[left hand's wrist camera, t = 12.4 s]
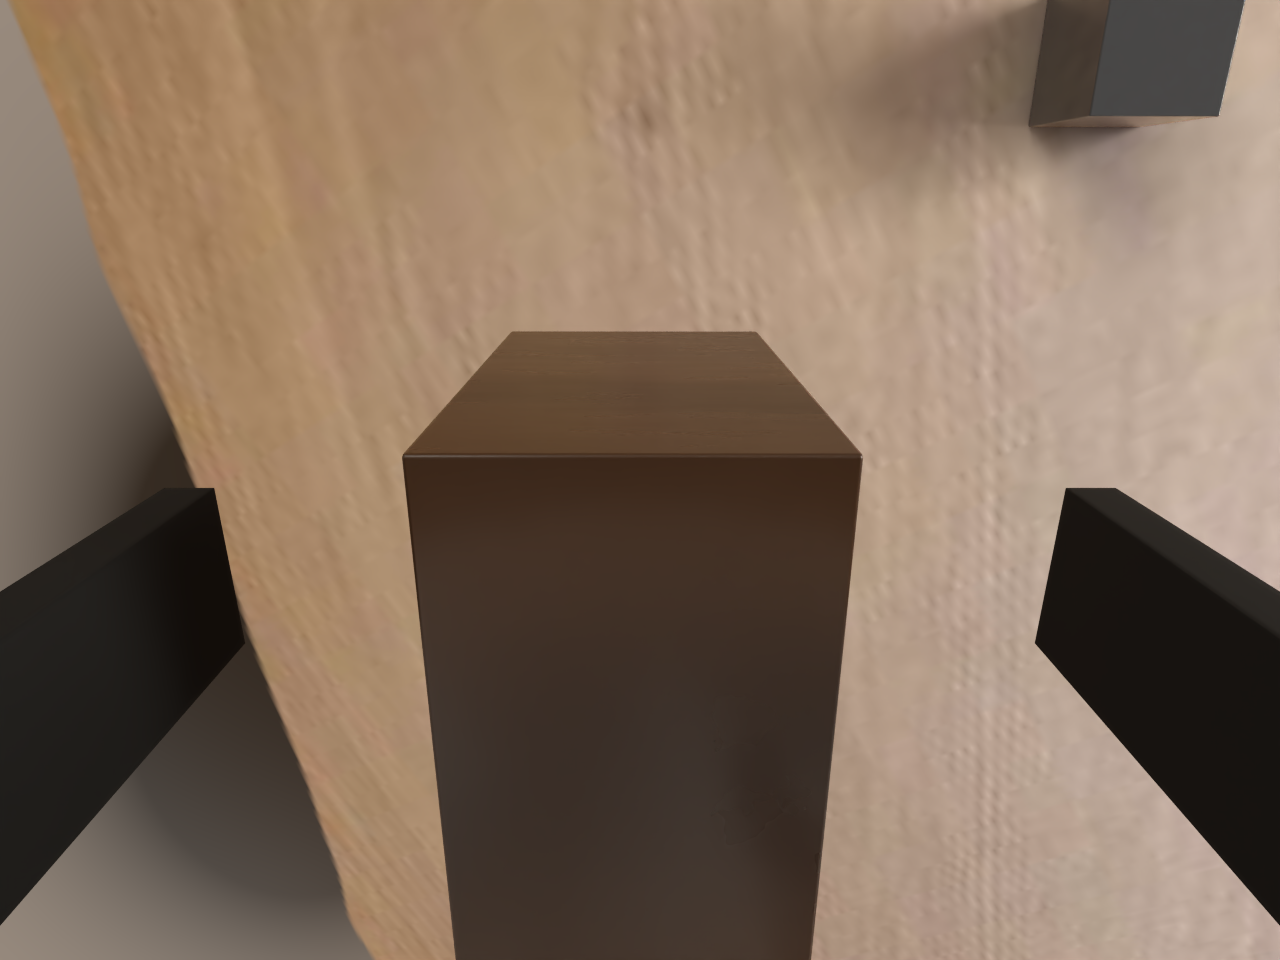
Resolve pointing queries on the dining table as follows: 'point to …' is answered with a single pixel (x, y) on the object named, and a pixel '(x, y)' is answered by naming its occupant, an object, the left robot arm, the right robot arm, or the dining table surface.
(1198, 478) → the dining table surface
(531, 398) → the bar
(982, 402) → the dining table surface
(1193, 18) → the slate block
